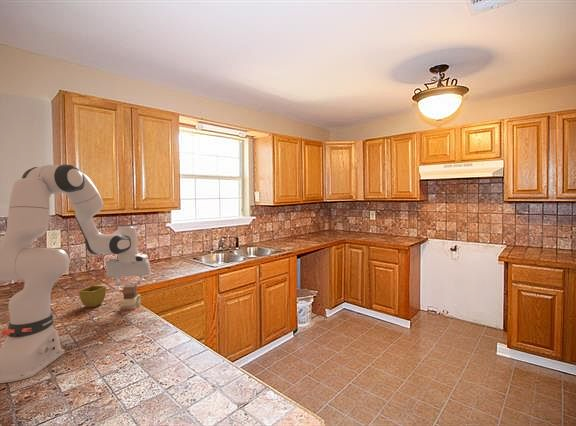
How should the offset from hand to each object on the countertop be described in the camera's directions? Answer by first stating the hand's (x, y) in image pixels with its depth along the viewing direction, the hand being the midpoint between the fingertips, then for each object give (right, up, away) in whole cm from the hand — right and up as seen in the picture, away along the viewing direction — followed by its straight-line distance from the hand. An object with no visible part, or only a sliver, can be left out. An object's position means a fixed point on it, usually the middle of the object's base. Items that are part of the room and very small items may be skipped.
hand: (129, 284), depth 154 cm
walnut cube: (0, -7, +1) cm, 7 cm away
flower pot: (-20, -12, +3) cm, 24 cm away
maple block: (0, -12, +1) cm, 12 cm away
